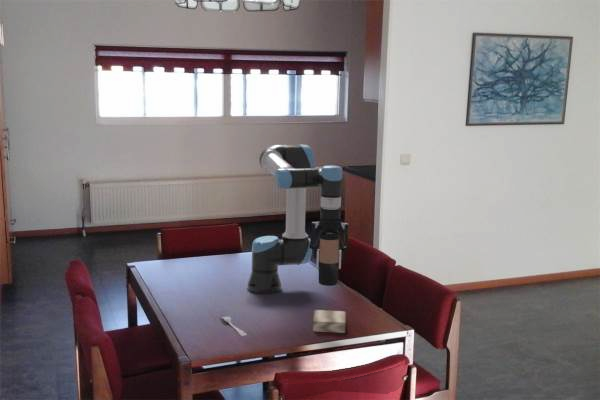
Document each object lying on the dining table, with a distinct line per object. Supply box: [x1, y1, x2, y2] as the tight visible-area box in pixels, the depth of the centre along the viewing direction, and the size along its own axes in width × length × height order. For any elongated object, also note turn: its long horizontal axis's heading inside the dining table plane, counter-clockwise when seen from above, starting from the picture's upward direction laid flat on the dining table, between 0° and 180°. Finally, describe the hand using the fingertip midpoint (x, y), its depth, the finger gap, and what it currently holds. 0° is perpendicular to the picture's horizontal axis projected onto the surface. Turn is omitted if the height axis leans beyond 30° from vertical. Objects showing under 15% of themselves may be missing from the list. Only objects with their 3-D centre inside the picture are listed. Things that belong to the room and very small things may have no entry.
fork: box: [221, 316, 247, 337], centre depth 240 cm, size 3×21×3 cm, turn 32°
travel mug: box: [318, 229, 341, 287], centre depth 238 cm, size 8×8×20 cm
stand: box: [312, 309, 347, 334], centre depth 242 cm, size 12×12×4 cm
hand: (328, 267), depth 238 cm, fingers closed on travel mug, 8 cm apart
